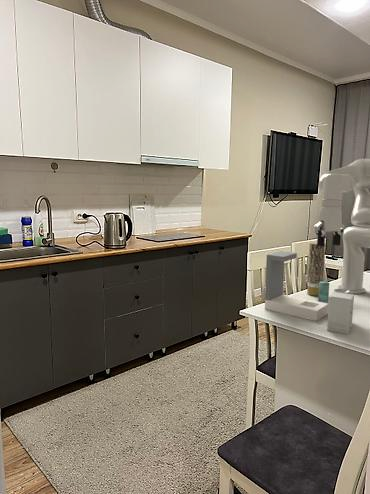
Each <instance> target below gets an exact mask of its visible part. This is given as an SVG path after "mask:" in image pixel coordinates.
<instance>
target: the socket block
mask: <svg viewBox="0 0 370 494" xmlns="http://www.w3.org/2000/svg"><path fill="white" fill-rule="evenodd" d="M297 255H298V254H297V252H291V251H284V250H283V251H282V250H278V251H275V252H272V253H268V254H266V262H265V264H266V265H265V268H266V269H265V291H264V292H265V295H264V310H269V311H272V312H277V313H281V314H285V315H290V316H293V317H294V316H295V317H297V318H303V319H307V320H311V321H315V322H317V321H319V320H320V319H322V318H323V317H325V316H326V315H328V310H329V302H328V303H323V302H318V300H312V299H308V298H302V297H297V296H293V295H288V294H284V275H285V273H284V272H285V262H288V261H291V260H294V259H297V257H298V256H297Z"/></svg>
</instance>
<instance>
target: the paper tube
mask: <svg viewBox="0 0 370 494" xmlns="http://www.w3.org/2000/svg"><path fill="white" fill-rule="evenodd" d="M325 254H326V242H325V243H324V247H322V246H317V240H314V241H313V240H312V241H309V253H308V269H307V271H308V272H307V286H306V287H307V289H306V292H307V294H308V295H310V296H315V297H319V282H324V271H325V257H326V256H325Z"/></svg>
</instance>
